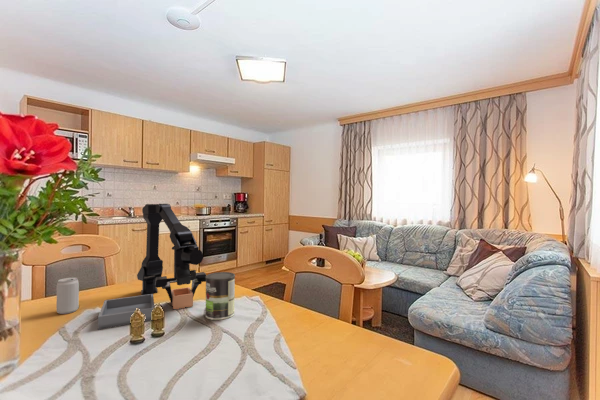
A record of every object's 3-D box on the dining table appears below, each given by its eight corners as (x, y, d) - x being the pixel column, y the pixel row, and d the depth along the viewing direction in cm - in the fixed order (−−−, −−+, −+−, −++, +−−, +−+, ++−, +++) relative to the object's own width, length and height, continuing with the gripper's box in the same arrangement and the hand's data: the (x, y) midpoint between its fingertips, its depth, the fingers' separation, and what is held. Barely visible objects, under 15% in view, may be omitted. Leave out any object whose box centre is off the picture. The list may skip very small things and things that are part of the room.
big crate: (104, 311, 107) (104, 300, 107) (153, 303, 114) (153, 293, 114) (97, 329, 91) (97, 316, 91) (154, 319, 99) (154, 308, 99)
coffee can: (215, 322, 96) (215, 280, 96) (199, 314, 103) (200, 275, 103) (240, 314, 104) (240, 275, 104) (224, 307, 111) (225, 270, 111)
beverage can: (66, 315, 103) (66, 281, 103) (51, 314, 104) (52, 280, 104) (82, 309, 109) (83, 277, 109) (69, 307, 110) (69, 276, 110)
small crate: (171, 301, 117) (171, 289, 117) (189, 299, 120) (189, 287, 120) (173, 309, 108) (173, 296, 108) (192, 306, 111) (193, 293, 111)
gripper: (156, 268, 103) (156, 312, 102) (210, 262, 111) (210, 303, 111) (155, 262, 112) (155, 302, 112) (204, 258, 121) (204, 295, 121)
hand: (181, 301), depth 114 cm, fingers open, 7 cm apart
